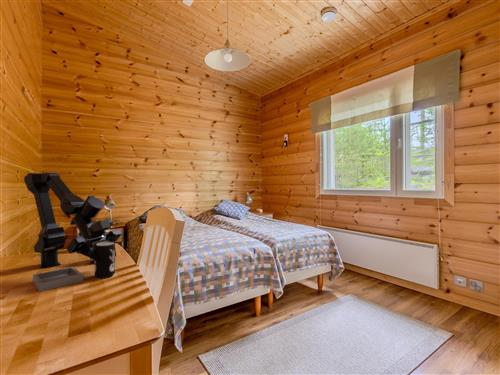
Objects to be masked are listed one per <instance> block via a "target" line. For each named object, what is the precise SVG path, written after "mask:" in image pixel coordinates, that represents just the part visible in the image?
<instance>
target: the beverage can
mask: <svg viewBox="0 0 500 375" xmlns="http://www.w3.org/2000/svg"><path fill="white" fill-rule="evenodd" d="M115 248H116V245H115V246H114V242H100V243H97V244H96V247H95V251H96V253H97V254H98V256H99V258H100V261H99V262H97V261H95V263H94V277H95V278H97V279H99V280H101V279H107V278H111V277H113V276H114V275H115V273H116V257H115Z"/></svg>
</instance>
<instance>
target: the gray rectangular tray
mask: <svg viewBox="0 0 500 375" xmlns="http://www.w3.org/2000/svg"><path fill="white" fill-rule="evenodd" d="M81 282H82V283H83V282H84V274H83V273H82V272H81V271H79V270H78V269H77V268H76V267H74V266H71V267H64V268H61V269H55V270H50V271H45V272H40V273H34V274H32V283H33V284H34V286H35V287H36V290H38V292H44V291H47V290H51V289H56V288H60V287H64V286H70V285H73V284H78V283H81Z"/></svg>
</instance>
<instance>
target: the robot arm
mask: <svg viewBox="0 0 500 375" xmlns="http://www.w3.org/2000/svg"><path fill="white" fill-rule="evenodd" d="M60 176H61V175H60V174H59V173H57V172H28V173H27V175H24V178H23V182H24V185H25V187H26V189H27V190H28V191H29V192H30V193H31V194H32V195H33V197H34V200H35V205H36V210H37V214H38V218H39V221H40V226H41V229H40V231H39V233H38V235H37V236H38V240H37V241H36V243H35V245H33V250H34V253H39V254H40V263H38V264H37V265H38V267H39V268H40V269H45V268H50V267H55V266H60V265H62V264H61V262H59V250H60V249H65V244H66V236H67V235H66V233H65V228H64V227H63V226H59V225H58V224H57V221H56V217H55V213H54V208H53V205H52V201H51V197H50V193H49V192H50V190H51V192H52V193H54V195H55V196H56V197H57V198H58V200H59V201H60V203H59V207H60V209H61V210H62V212H63V214H64V215H65V216H73V217H71V220H70V224H69V225H70V226H74V225H75V226H76V228H78V229H79V231H80V233H79V236H81V237H73V238H72V239H71V241H70V242H69V243H68V245H67V246H66V251H67V253H68V254H69V255H71V254H74V253H76V254H78V255H79V254H80V255H83V256H85V257H87V258H89V259H90V258H91V259H93V260H95V261H97V262H99V261H100V258H99V256H98V254H97V253H96V251H95V249H94V248H93V244H94V243H98V242H114V246H115V258H116V257H117V255H118V254H117V250H116V242H118V240H119V238H120V237H121V236H122V235H123V233H122V232H121V231H120V230H119V229H115V230H114V229H113V230H109V229H111V228H112V227H113V226H114V220H112V218H110V217H107V218H105V219H102V220H98V221H94V219H95V218H97V216H98V215H99V214H100V212H101V211H102V209H103V208H104V207H105V203H104V201H103V200H101V199H100V198H98V197H95V195H88V196H87V198H86V199H85V200H84V199H83V198H82V197H81V196H78V195H76V194H74V193H73V192H72V191H71V189H70V188H69V187H68V186H67V185H66V183H65V182H64V180H63V179H62V178H61V177H60ZM106 230H109V231H108V232H109V233H108V234H107V235H106V236H103V234H105V232H107V231H106Z"/></svg>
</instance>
